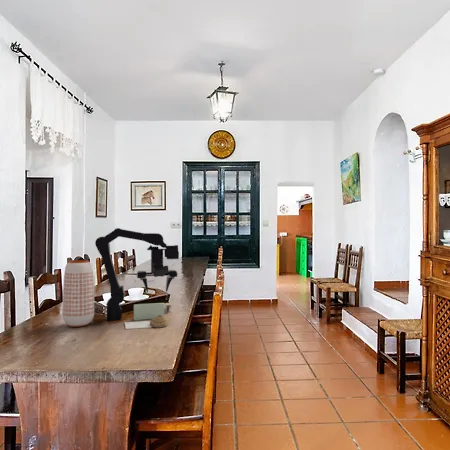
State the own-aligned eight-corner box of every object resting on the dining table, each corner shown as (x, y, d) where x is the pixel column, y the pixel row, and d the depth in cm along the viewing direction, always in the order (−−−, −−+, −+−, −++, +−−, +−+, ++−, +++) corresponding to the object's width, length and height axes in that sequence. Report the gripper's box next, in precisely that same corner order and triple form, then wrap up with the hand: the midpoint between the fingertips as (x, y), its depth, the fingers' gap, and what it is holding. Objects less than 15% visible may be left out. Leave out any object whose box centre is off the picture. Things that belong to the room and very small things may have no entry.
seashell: (173, 318, 174) (166, 315, 167) (170, 331, 172) (163, 328, 165) (156, 315, 176) (149, 312, 169) (153, 328, 174) (146, 325, 167)
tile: (125, 329, 164) (125, 328, 164) (124, 323, 174) (124, 322, 174) (152, 327, 167) (152, 326, 167) (149, 321, 177) (149, 320, 177)
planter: (83, 329, 164) (84, 262, 164) (55, 327, 166) (56, 261, 166) (100, 321, 177) (100, 259, 177) (73, 320, 179) (74, 259, 179)
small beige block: (164, 313, 194) (164, 305, 194) (160, 311, 198) (161, 303, 198) (172, 312, 196) (172, 304, 196) (168, 310, 200) (168, 303, 200)
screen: (134, 320, 178) (134, 305, 178) (133, 318, 182) (133, 303, 182) (164, 318, 182) (164, 303, 183) (163, 316, 186) (163, 302, 186)
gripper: (138, 261, 175) (138, 295, 175) (179, 260, 181) (179, 293, 181) (136, 259, 186) (136, 291, 186) (175, 258, 192) (175, 290, 192)
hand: (156, 292), depth 186 cm, fingers open, 9 cm apart
